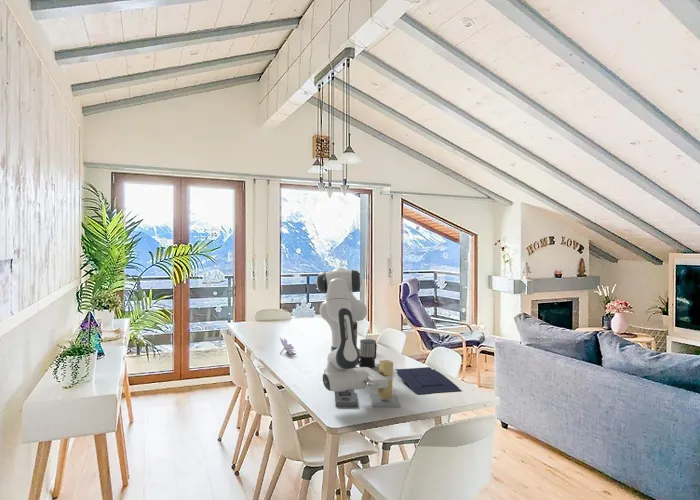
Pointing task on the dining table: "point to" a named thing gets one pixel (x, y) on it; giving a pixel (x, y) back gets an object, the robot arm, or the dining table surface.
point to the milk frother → (367, 353)
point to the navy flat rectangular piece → (426, 380)
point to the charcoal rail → (345, 398)
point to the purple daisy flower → (286, 346)
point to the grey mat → (385, 401)
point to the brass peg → (385, 370)
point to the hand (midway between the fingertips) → (387, 375)
